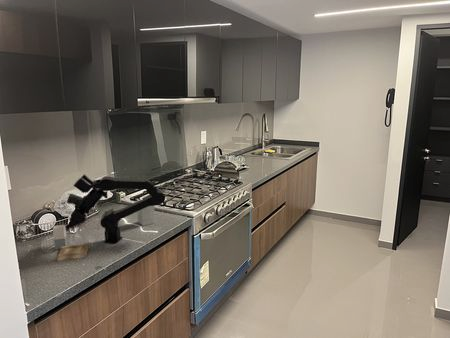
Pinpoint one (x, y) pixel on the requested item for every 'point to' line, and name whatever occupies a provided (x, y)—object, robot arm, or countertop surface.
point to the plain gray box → (59, 236)
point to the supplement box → (146, 215)
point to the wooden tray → (73, 252)
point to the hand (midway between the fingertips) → (68, 224)
